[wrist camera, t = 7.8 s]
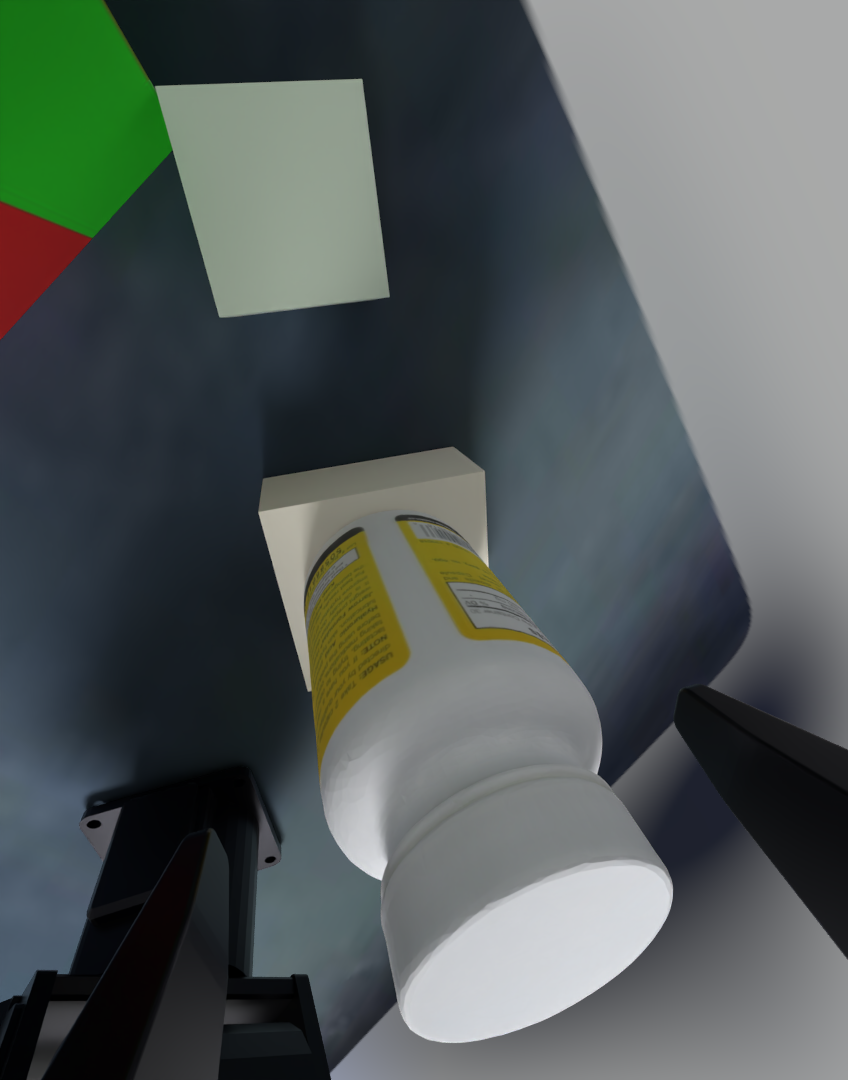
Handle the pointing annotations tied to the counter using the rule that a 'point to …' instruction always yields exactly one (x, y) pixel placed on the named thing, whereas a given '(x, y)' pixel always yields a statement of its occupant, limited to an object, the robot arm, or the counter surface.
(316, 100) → the brick
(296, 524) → the base brick
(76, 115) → the puzzle toy
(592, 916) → the supplement bottle
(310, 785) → the counter surface
